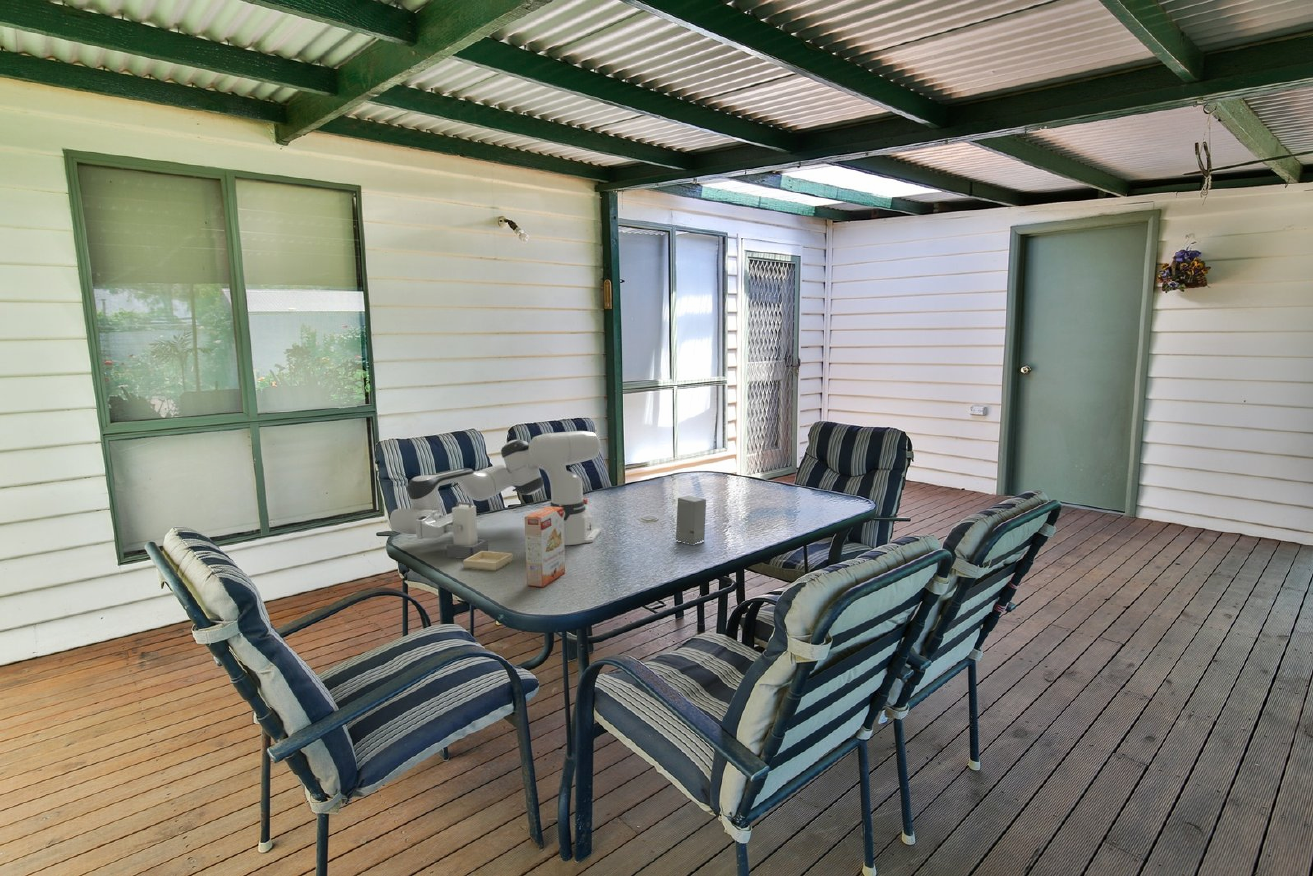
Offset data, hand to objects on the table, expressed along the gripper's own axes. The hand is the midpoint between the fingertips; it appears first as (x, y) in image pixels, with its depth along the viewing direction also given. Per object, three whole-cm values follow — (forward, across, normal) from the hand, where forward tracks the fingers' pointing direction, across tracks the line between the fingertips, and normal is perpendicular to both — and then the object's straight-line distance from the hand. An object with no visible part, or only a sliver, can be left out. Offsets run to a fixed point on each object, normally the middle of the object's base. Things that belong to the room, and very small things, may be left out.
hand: (467, 525), depth 237 cm
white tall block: (-1, 0, -9) cm, 9 cm away
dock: (0, 0, -10) cm, 10 cm away
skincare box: (+69, -33, -10) cm, 77 cm away
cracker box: (+38, +16, -10) cm, 42 cm away
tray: (+13, +8, -10) cm, 18 cm away
